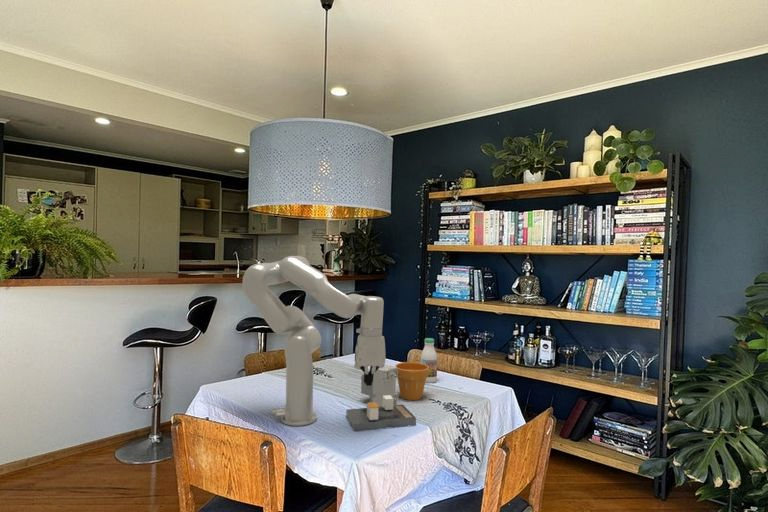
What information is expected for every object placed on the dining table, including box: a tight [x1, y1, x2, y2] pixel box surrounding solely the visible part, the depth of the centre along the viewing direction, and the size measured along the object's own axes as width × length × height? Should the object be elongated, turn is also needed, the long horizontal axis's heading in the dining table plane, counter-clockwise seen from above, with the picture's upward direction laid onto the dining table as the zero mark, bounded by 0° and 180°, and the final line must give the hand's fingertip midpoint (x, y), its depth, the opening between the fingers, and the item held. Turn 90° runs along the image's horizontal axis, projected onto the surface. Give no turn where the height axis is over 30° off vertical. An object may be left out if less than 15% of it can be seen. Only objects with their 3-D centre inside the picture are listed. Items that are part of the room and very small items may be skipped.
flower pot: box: [394, 361, 429, 401], centre depth 186 cm, size 14×14×13 cm
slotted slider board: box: [345, 404, 417, 432], centre depth 159 cm, size 22×14×3 cm, turn 107°
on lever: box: [382, 395, 393, 410], centre depth 164 cm, size 3×4×4 cm
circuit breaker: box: [360, 363, 398, 407], centre depth 178 cm, size 8×14×15 cm, turn 51°
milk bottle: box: [420, 337, 438, 384], centre depth 210 cm, size 8×8×20 cm
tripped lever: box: [366, 402, 379, 420], centre depth 154 cm, size 3×4×5 cm
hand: (368, 384), depth 154 cm, fingers closed
